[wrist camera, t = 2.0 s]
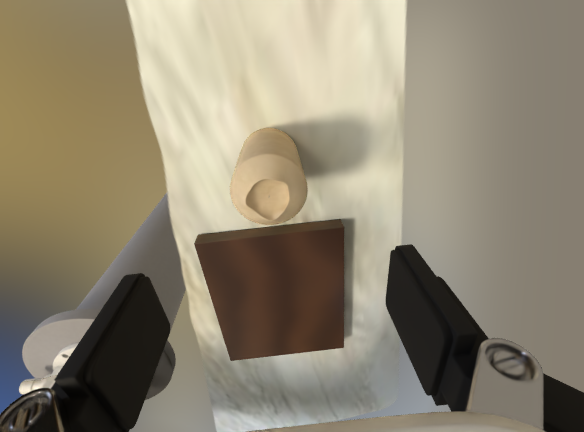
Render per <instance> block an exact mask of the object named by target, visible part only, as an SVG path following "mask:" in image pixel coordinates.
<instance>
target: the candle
mask: <svg viewBox="0 0 584 432" xmlns="http://www.w3.org/2000/svg"><path fill="white" fill-rule="evenodd" d="M230 194H231V199H232V201H233V204H234V205H235V207H236V209H237V210H238V211H239V212H240V213H241V214H242V215H243V216H244V217H246V218H247V219H249V220H251V221H253V222H256V223H259V224H265V225H274V224H279V223H283V222H285V221H287V220H289V219H291V218H293V217H294V216H295V215H296V214H297V213H298V212H299V211H300V210H301V208H302V207H303V205H304V203H305V201H306V197H307V182H306V178H305V175H304V172H303V168H302V165H301V161H300V158H299V155H298V151H297V148H296V146H295V144H294V142H293V140H292V139H291V138H290V137H289V136H288V135H287V134H285V133H284V132H282V131H280V130H277V129H273V128H264V129H260V130H258V131H256V132H254V133H252V134H251V135H250V136H249V137H248V138H247V139H246V140H245V142H244V144H243V146H242V149H241V152H240V155H239V158H238V161H237V164H236V167H235V170H234V173H233V176H232V180H231V184H230Z"/></svg>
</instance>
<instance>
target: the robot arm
mask: <svg viewBox="0 0 584 432" xmlns="http://www.w3.org/2000/svg"><path fill="white" fill-rule="evenodd" d="M386 307H387V310H388V312H389V314H390V316H391V319H392V321H393V323H394V325H395V327H396V330H397V332H398V334H399V336H400V338H401V341H402V343H403V345H404V347H405V349H406V352H407V354H408V356H409V358H410V360H411V363H412V365H413V367H414V369H415V371H416V374H417V376H418V378H419V380H420V383H421V384H422V387H423V389H424V391H425V393H426V394H427V395H432V397H433V400H434V401H435V404H436V405H437V406H438V405H447V404H448V406H449V408H450V410H451V412H431V413H420V414H408V415H397V416H385V417H376V418H367V419H357V420H347V421H338V422H329V423H319V424H310V425H301V426H292V427H283V428H274V429H265V430H256V431H247V432H584V393H583V392H581V391H579V390H577V389H575V388H573V387H571V386H568V385H566V384H564V383H562V382H560V381H558V380H556V379H554V378H552V377H550V376H547V375H545V374H543V371H542V367H541V366H540V364H539V362H538V361H537V359H536V358H535V357H534V356H533V355H532V354H531V353H530V352H529V351H527V350H526V349H524V348H523V347H522V346H520V345H518V344H516V343H514V342H512V341H509V340H505V339H500V338H491V339H488V337H487V336H486V335H485V333H484V332H483V331H482V329H481V328H480V327H479V325H478V324H477V323H476V322H475V320H474V319H473V318H472V316H471V315H470V314H469V312H468V311H467V310H466V308H465V307H464V306H463V305H462V303H461V302H460V301H459V299H458V298H457V297H456V295H455V294H454V293H453V291H452V290H451V289H450V287H449V286H448V285H447V284H446V282H445V281H444V280H443V279H442V278H441V277H436V275H435V274H434V273H433V271H432V270H431V269H430V267H429V266H428V265H427V264H426V262H425V261H424V259H423V258H422V257H421V255H420V254H419V253H418V251H417V250H416V249H415V247H414V246H413V245H402V246H396V248H395V250H392V251H391V255H390V264H389V273H388V283H387V292H386ZM169 333H170V323H169V321H168V319H167V316H166V314H165V312H164V310H163V307H162V305H161V303H160V301H159V298H158V296H157V294H156V292H155V289H154V287H153V285H152V283H151V280H150V279H149V277H145V275H144V274H141V273H140V274H131V275H126V276H124V277H123V279H122V280H121V282H120V283H119V284H118V286H117V287H116V289H115V290H114V292H113V293H112V295H111V296H110V298H109V299H108V301H107V302H106V304H105V305H104V307H103V308H102V310H101V311H100V313H99V314H98V316H97V317H96V319H95V320H94V322H93V323H92V325H91V326H90V327H89V329H88V330H87V332H86V333H85V335H84V336H83V338H82V339H81V341H80V342H79V343H74V344H72V345H69V346H67V347H65V348H63V349H62V350H61V351H60V352H59V353H58V355H57V356H56V358H55V359H54V362H53V370H54V371H53V373H52V374H49V375H47V376H45V377H44V378H34V379H26V380H24V381H23V382H22V383H21V385H20V387H19V391H20V393H21V394H25V395H22V396H21V397H20V398H18V399H17V400H15V401H14V402H13V403H11V404H10V405H9V406H8V407H7V408H6V409H5V410H4V411H3V412H2V413H1V414H0V432H129V430H130V429H132V428H133V427H134V426H135V424H136V422H137V419H138V417H139V414H140V411H141V409H142V406H143V403H144V400H145V398H146V395H147V392H148V390H149V387H150V384H151V382H152V379H153V376H154V374H155V371H156V368H157V366H158V363H159V360H160V357H161V355H162V352H163V349H164V347H165V344H166V341H167V339H168V336H169Z"/></svg>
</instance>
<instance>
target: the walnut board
mask: <svg viewBox="0 0 584 432" xmlns="http://www.w3.org/2000/svg"><path fill="white" fill-rule="evenodd" d="M194 244H195V248H196V251H197V254H198V257H199V260H200V264H201V267H202V270H203V273H204V277H205V280H206V283H207V286H208V289H209V293H210V296H211V299H212V302H213V306H214V309H215V312H216V315H217V318H218V322H219V325H220V328H221V331H222V334H223V338H224V341H225V344H226V347H227V351H228V354H229V357H230V360H231V361H234V360H242V359H251V358H260V357H268V356H277V355H285V354H294V353H303V352H311V351H320V350H328V349H337V348H344V226H343V224H342V221H341V219H338V220H329V221H320V222H311V223H302V224H292V225H283V226H274V227H265V228H256V229H247V230H238V231H228V232H219V233H210V234H201V235H198V236H197V239H196V241H195V243H194Z"/></svg>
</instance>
